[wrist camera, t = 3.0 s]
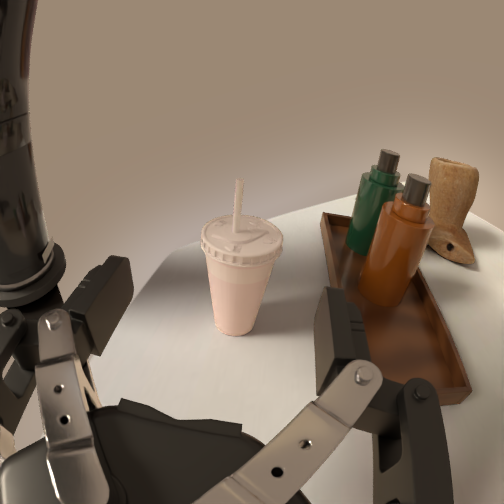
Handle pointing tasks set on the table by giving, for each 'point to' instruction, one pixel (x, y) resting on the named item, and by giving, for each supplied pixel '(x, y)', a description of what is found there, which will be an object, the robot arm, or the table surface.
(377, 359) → the tray
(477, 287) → the table surface
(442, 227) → the stone cup
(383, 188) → the green bottle
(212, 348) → the table surface
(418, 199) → the amber bottle
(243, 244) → the smoothie
